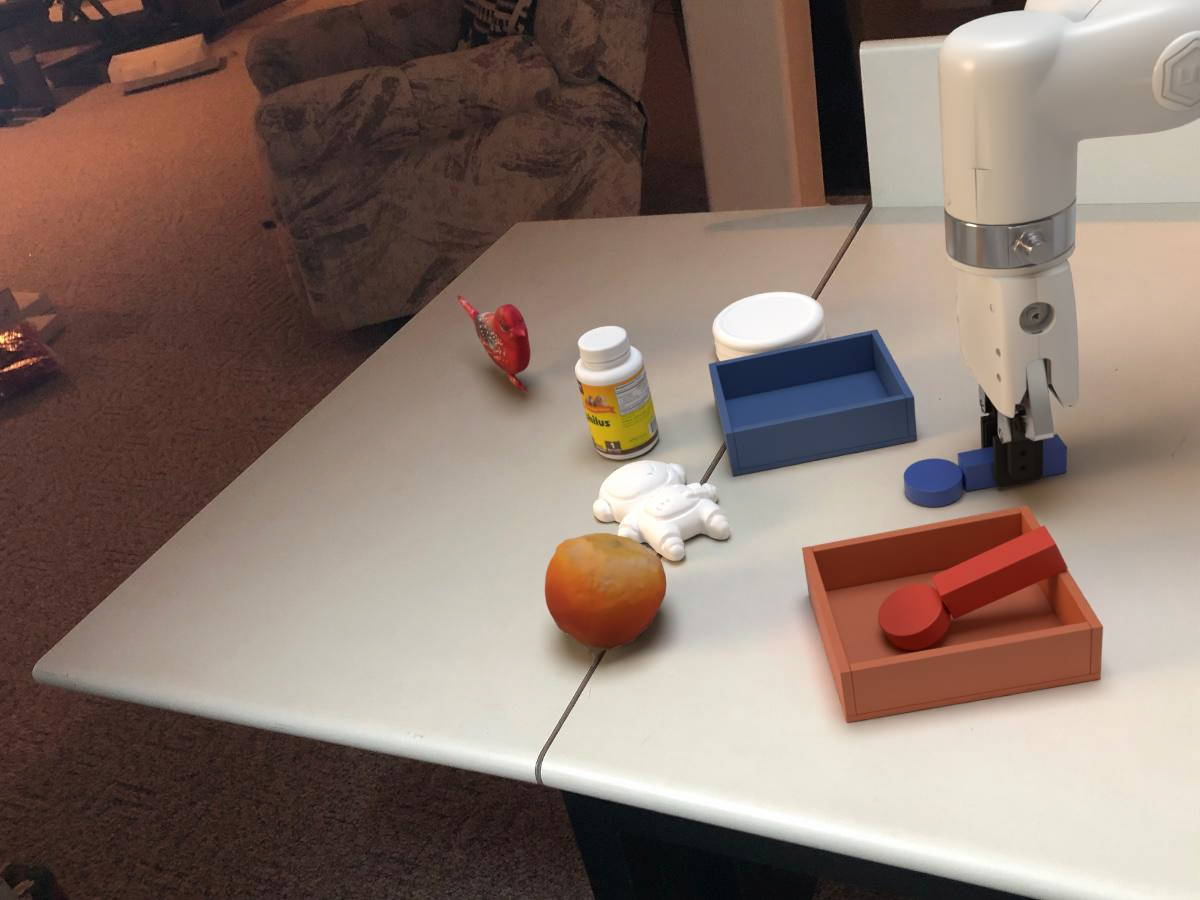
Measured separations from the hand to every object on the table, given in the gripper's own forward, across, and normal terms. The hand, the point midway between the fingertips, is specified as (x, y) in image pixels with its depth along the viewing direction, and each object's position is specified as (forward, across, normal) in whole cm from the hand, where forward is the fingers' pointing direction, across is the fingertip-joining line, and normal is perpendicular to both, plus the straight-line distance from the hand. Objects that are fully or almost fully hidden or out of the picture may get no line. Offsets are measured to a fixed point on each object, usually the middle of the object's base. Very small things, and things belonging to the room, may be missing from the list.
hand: (1011, 469), depth 76 cm
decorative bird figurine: (+1, +30, +38) cm, 48 cm away
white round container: (+1, +25, +13) cm, 28 cm away
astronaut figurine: (+1, +3, +25) cm, 25 cm away
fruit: (+1, -8, +29) cm, 30 cm away
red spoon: (-2, -14, +7) cm, 16 cm away
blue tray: (+1, +12, +12) cm, 17 cm away
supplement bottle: (+1, +14, +27) cm, 30 cm away
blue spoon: (+1, 0, +2) cm, 2 cm away
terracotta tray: (+1, -14, +9) cm, 17 cm away
